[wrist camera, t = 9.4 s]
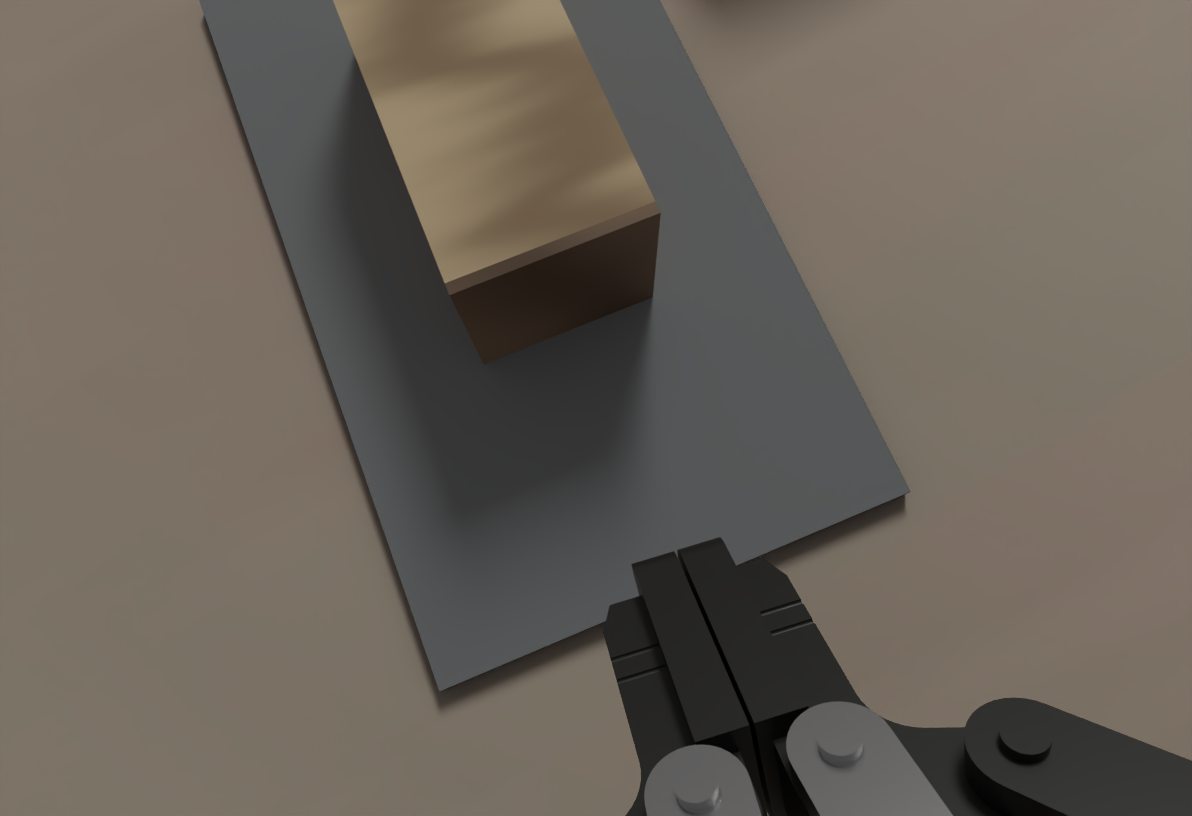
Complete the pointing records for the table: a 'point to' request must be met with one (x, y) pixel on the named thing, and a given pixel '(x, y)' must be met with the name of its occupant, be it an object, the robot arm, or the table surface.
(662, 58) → the mat
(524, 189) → the oak block
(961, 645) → the table surface
